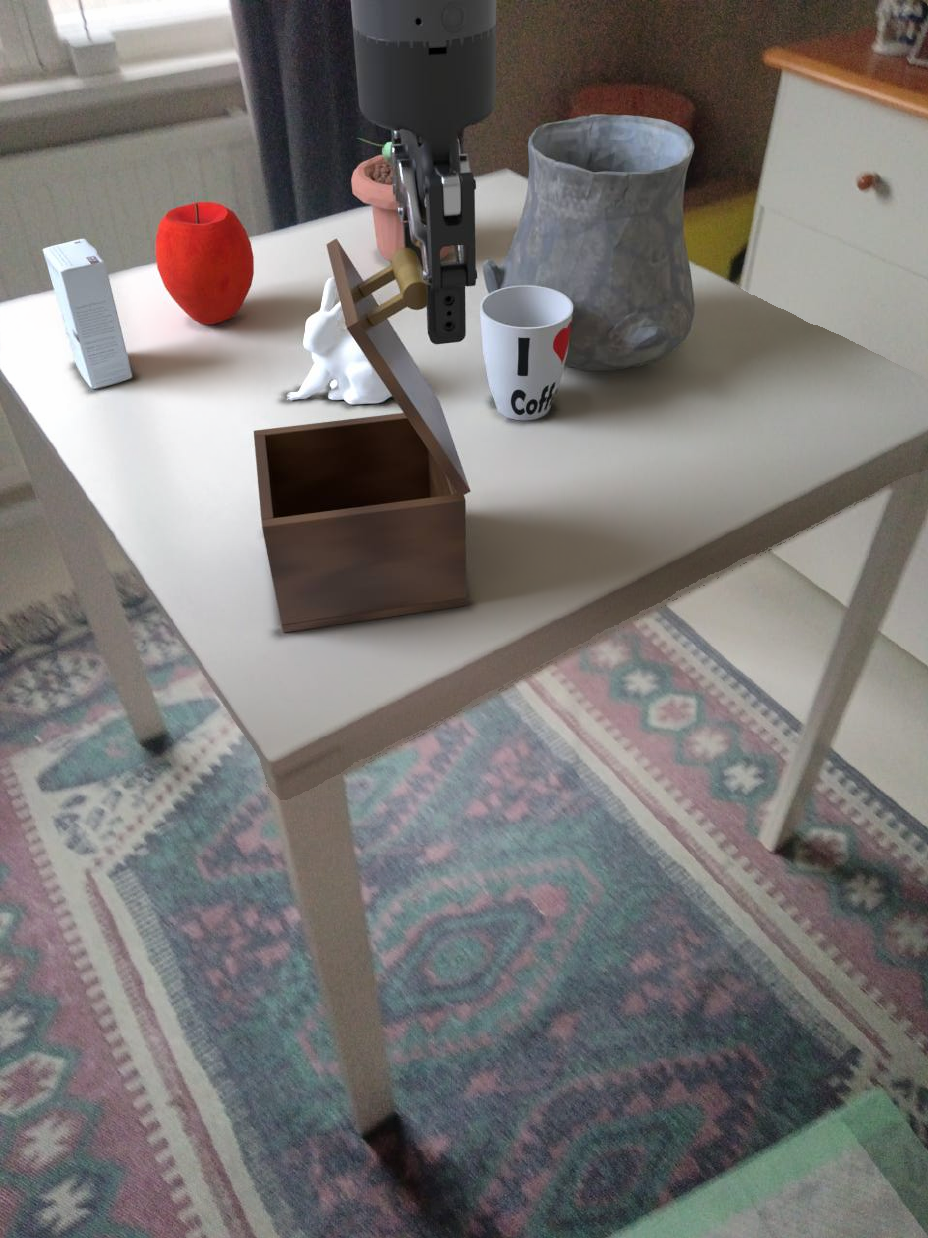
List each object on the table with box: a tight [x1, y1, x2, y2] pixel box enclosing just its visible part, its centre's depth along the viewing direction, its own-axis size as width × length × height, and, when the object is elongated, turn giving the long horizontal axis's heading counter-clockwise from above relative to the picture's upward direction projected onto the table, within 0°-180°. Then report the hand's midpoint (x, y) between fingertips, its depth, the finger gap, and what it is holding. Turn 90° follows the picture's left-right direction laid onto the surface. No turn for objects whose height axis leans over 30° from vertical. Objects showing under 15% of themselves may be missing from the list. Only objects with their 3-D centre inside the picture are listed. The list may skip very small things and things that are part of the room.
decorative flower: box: [350, 137, 472, 262], centre depth 106 cm, size 15×14×30 cm
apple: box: [155, 201, 255, 325], centre depth 101 cm, size 10×10×12 cm
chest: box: [253, 412, 468, 633], centre depth 72 cm, size 14×12×10 cm
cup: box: [479, 285, 573, 421], centre depth 89 cm, size 8×8×10 cm
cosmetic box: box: [42, 238, 133, 390], centre depth 93 cm, size 6×4×12 cm
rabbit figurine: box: [286, 276, 397, 405], centre depth 92 cm, size 12×8×10 cm, turn 79°
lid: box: [326, 238, 471, 497], centre depth 64 cm, size 14×12×5 cm
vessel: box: [482, 113, 696, 371], centre depth 93 cm, size 22×22×20 cm
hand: (434, 308), depth 62 cm, fingers open, 8 cm apart
